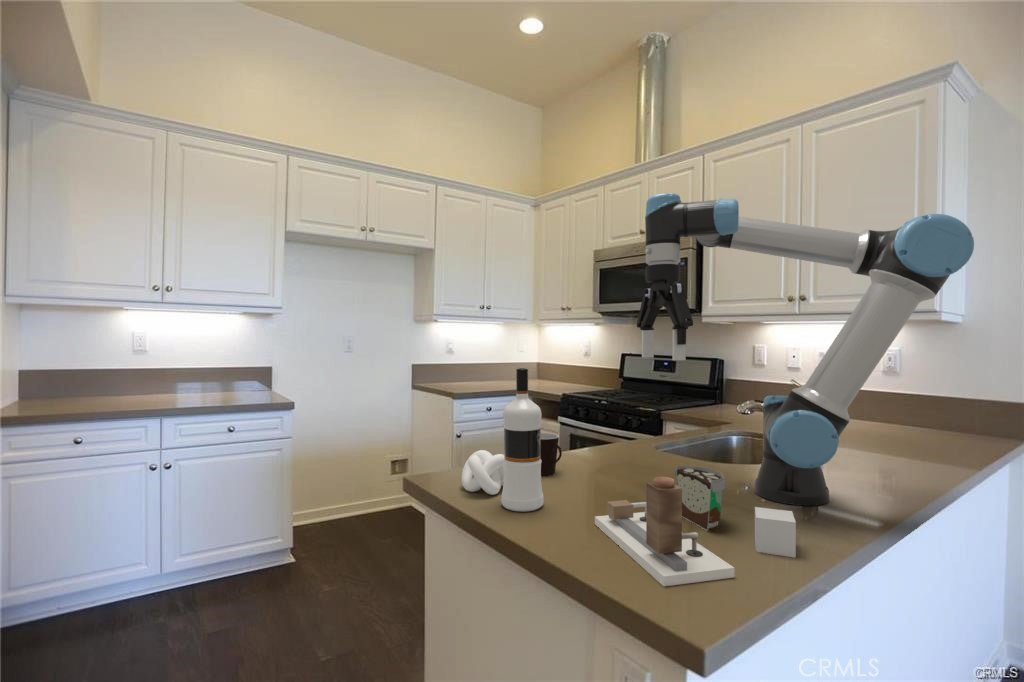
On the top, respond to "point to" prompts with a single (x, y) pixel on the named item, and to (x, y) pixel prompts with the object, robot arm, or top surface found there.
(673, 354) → the robot arm
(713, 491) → the food container
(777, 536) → the white cube
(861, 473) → the top surface
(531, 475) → the vodka
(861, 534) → the top surface
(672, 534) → the sliding handle
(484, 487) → the white decorative knot
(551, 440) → the coffee mug
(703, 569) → the board
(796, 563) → the top surface
